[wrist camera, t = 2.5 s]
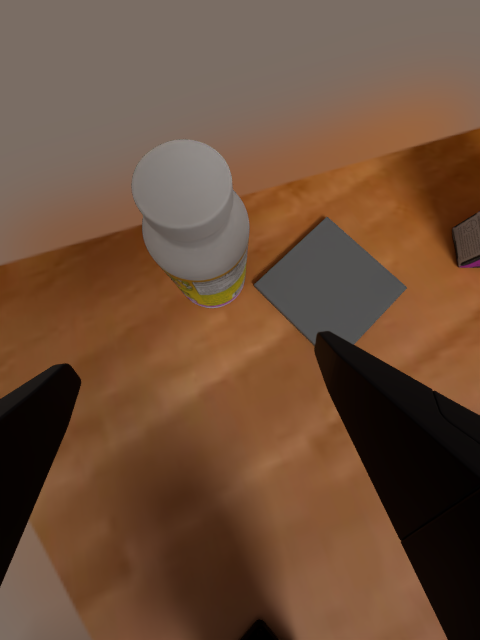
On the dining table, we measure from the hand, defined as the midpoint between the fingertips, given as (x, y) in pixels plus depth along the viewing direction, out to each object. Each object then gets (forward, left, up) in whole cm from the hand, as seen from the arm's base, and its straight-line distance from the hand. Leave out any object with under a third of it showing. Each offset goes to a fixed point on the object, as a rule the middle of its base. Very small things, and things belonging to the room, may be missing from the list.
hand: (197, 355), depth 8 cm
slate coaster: (+13, -3, -13) cm, 19 cm away
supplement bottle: (+5, +6, -14) cm, 16 cm away
